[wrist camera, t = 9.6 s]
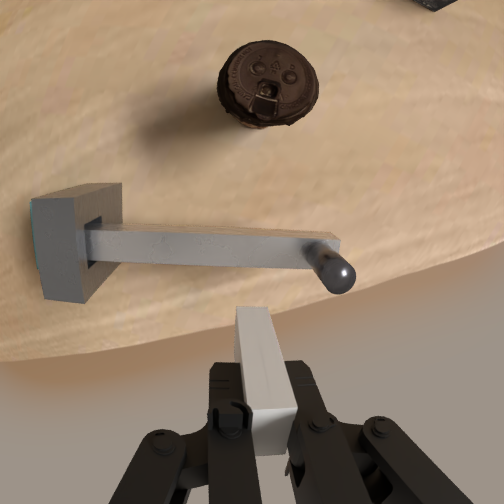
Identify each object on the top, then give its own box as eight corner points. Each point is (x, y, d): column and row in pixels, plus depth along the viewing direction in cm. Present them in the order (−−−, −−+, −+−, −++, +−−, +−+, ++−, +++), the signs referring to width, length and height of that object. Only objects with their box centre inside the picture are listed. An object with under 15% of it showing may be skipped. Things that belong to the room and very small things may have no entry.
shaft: (85, 250, 29) (44, 282, 21) (83, 223, 28) (38, 248, 20) (326, 259, 32) (359, 296, 23) (330, 232, 31) (367, 261, 22)
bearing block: (91, 257, 37) (44, 299, 25) (87, 183, 34) (31, 199, 22) (124, 259, 37) (84, 303, 25) (121, 182, 34) (73, 197, 22)
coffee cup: (246, 152, 35) (257, 149, 22) (205, 99, 32) (193, 69, 20) (304, 112, 34) (343, 92, 21) (264, 60, 31) (282, 17, 19)
